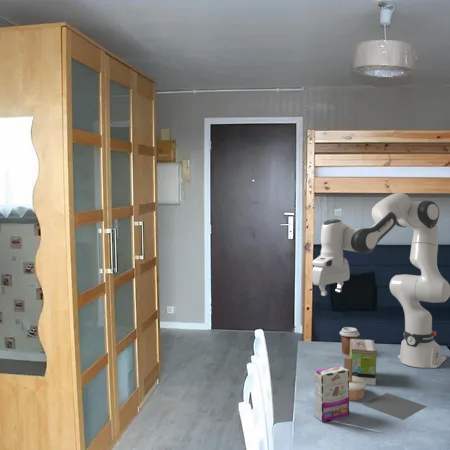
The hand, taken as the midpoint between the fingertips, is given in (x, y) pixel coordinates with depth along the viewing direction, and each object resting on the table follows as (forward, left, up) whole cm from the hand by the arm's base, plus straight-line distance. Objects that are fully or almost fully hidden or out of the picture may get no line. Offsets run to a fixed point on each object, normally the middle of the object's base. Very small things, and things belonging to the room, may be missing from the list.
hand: (331, 293), depth 208 cm
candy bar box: (+28, +22, -35) cm, 50 cm away
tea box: (-9, +9, -35) cm, 38 cm away
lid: (+9, +15, -31) cm, 35 cm away
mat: (+5, +32, -35) cm, 48 cm away
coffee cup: (-31, -13, -35) cm, 49 cm away
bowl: (+9, +15, -35) cm, 39 cm away
